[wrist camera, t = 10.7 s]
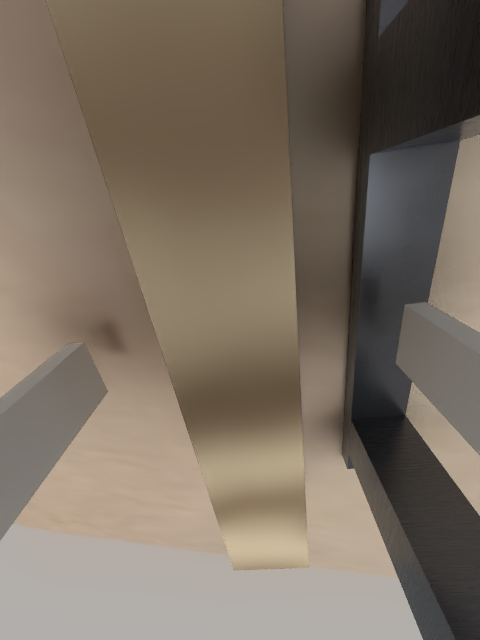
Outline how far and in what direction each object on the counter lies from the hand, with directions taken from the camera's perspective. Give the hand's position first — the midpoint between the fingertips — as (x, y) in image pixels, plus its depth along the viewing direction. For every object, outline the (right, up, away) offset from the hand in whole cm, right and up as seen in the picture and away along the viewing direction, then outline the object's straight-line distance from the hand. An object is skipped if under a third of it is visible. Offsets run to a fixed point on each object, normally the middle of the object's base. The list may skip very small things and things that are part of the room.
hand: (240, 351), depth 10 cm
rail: (0, +1, +2) cm, 2 cm away
